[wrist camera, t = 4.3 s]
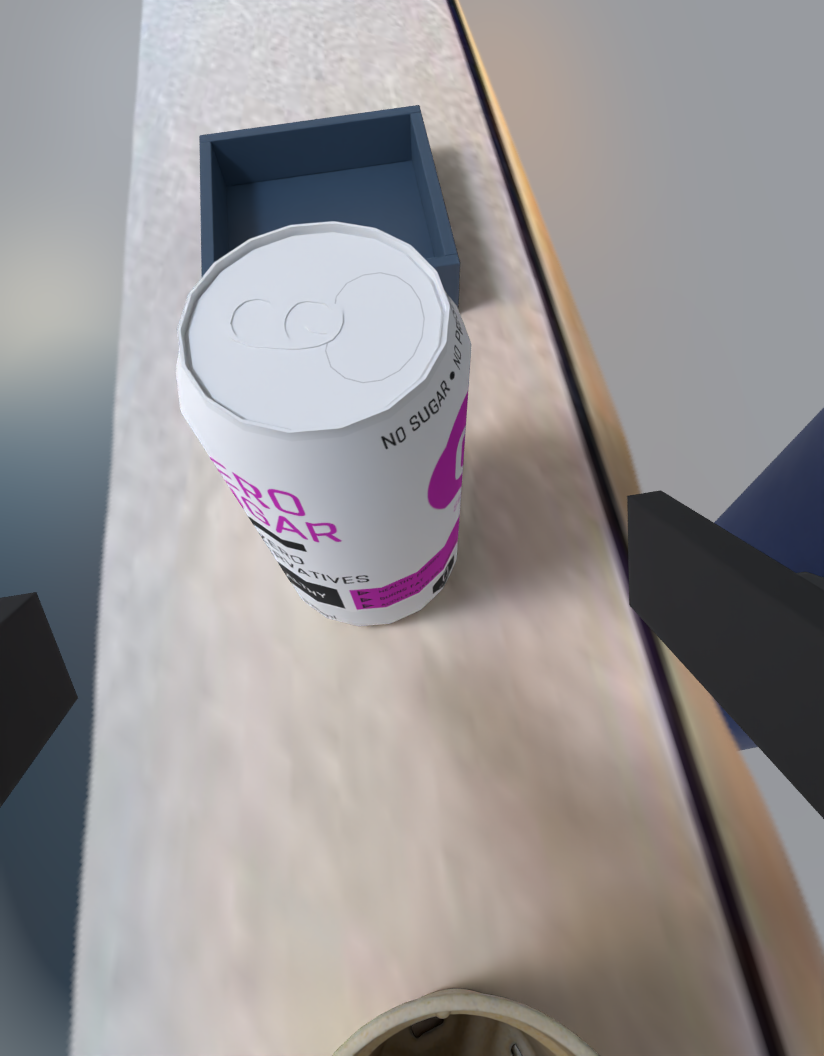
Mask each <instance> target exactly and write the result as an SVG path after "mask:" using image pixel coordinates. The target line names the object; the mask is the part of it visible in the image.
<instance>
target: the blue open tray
mask: <svg viewBox="0 0 824 1056" xmlns="http://www.w3.org/2000/svg"><path fill="white" fill-rule="evenodd" d="M200 199H201V262H202V277H203V275H204V274H205V273H206V272H207V271H208V269H209V268H210V267H211V266H212V264H213V263H214V262H216V261H217V260H219V259H220V258H222V257H223V256H225V255H226V254H228V253H229V252H231V251H232V250H234V249H235V248H237V247H238V246H240V245H241V244H243V243H244V242H246V241H247V240H249V239H251V238H254V237H257V236H260V235H263V234H266V233H268V232H271V231H274V230H277V229H280V228H283V227H286V226H289V225H295V224H307V223H318V222H329V221H336V222H342V223H348V224H354V225H360V226H367V227H373V228H376V229H379V230H381V231H383V232H385V233H387V234H389V235H391V236H393V237H395V238H397V239H399V240H401V241H403V242H406V243H408V244H410V245H411V246H412V247H413V248H414V249H415V250H416V251H417V252H418V253H419V254H420V255H421V256H422V257H423V258H424V259H425V260H426V261H427V262H428V263H429V264H430V265H431V266H432V267H433V268H434V269H435V270H436V271H437V272H438V275H439V278H440V280H441V283H442V286H443V288H444V290H445V292H446V293H447V294H448V295H449V297H450V298H451V299H452V301H453V302H454V303H455V304H456V306H457V308H458V307H459V306H458V304H459V279H460V261H459V257H458V253H457V249H456V245H455V242H454V238H453V234H452V230H451V226H450V222H449V218H448V214H447V211H446V207H445V203H444V199H443V195H442V191H441V187H440V183H439V180H438V176H437V172H436V168H435V164H434V160H433V156H432V153H431V149H430V145H429V141H428V137H427V133H426V129H425V125H424V122H423V118H422V114H421V110H420V106H419V105H416V106H408V107H401V108H394V109H387V110H380V111H372V112H365V113H358V114H351V115H344V116H336V117H329V118H322V119H315V120H308V121H300V122H293V123H286V124H279V125H272V126H264V127H257V128H250V129H243V130H236V131H228V132H221V133H214V134H207V135H200Z"/></svg>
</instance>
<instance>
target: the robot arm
mask: <svg viewBox="0 0 824 1056" xmlns="http://www.w3.org/2000/svg"><path fill="white" fill-rule="evenodd" d="M627 503H628V553H629V603H630V606H631V607H632V608H633V609H634V611H635V612H636V613H637V614H638V615H639V616H640V617H641V618H642V619H643V620H644V622H645V623H646V624H647V625H648V626H649V627H650V628H651V629H652V630H653V631H654V633H655V634H656V635H657V636H658V637H659V638H660V639H661V640H662V641H663V642H664V644H665V645H666V646H667V647H668V648H669V649H670V650H671V651H672V652H673V653H674V655H675V656H676V657H677V658H678V659H679V660H680V661H681V662H682V663H683V664H684V666H685V667H686V668H687V669H688V670H689V671H690V672H691V673H692V674H693V675H694V677H695V678H696V679H697V680H698V681H699V682H700V683H701V684H702V685H703V686H704V688H705V689H706V690H707V691H708V692H709V693H710V694H711V695H712V696H713V697H714V699H715V700H716V701H717V702H718V703H719V704H720V705H721V706H722V707H723V708H724V710H725V711H726V712H727V713H728V714H729V715H730V716H731V717H732V718H733V720H734V721H735V722H736V723H737V724H738V725H739V726H740V727H741V728H742V729H743V731H744V732H745V733H746V734H747V735H748V736H749V737H750V738H751V739H752V740H753V742H754V743H755V744H756V745H757V746H758V747H759V748H760V749H761V750H762V751H763V753H764V754H765V755H766V756H767V757H768V758H769V759H770V760H771V761H772V762H773V764H775V766H776V767H777V768H778V769H779V770H780V771H781V772H782V773H783V774H784V776H785V777H786V778H787V779H788V780H789V781H790V782H791V783H792V784H793V786H794V787H795V788H796V789H797V790H798V791H799V792H800V793H801V794H802V795H803V796H804V798H805V799H806V800H807V801H808V802H809V803H810V804H811V805H812V806H813V808H814V809H815V810H816V811H818V813H819V814H820V815H821V816H822V817H823V819H824V577H820V576H817V575H814V574H811V573H808V572H801V573H795V572H793V571H792V570H790V569H788V568H787V567H785V566H783V565H782V564H780V563H779V562H777V561H775V560H774V559H772V558H770V557H769V556H767V555H765V554H764V553H762V552H761V551H759V550H757V549H756V548H754V547H752V546H751V545H749V544H747V543H746V542H744V541H743V540H741V539H739V538H738V537H736V536H734V535H733V534H731V533H729V532H728V531H726V530H725V529H723V528H721V527H720V526H718V525H716V524H715V523H713V522H711V521H710V520H708V519H707V518H705V517H703V516H702V515H700V514H698V513H697V512H695V511H693V510H692V509H690V508H689V507H687V506H685V505H684V504H682V503H680V502H679V501H677V500H675V499H674V498H672V497H671V496H669V495H667V494H666V493H664V492H662V491H655V492H649V493H643V494H636V495H630V496H627ZM77 699H78V697H77V694H76V692H75V689H74V687H73V684H72V682H71V679H70V677H69V674H68V671H67V669H66V666H65V664H64V661H63V659H62V656H61V654H60V651H59V648H58V646H57V643H56V641H55V638H54V636H53V633H52V631H51V628H50V626H49V623H48V621H47V618H46V615H45V613H44V611H43V608H42V606H41V603H40V600H39V598H38V595H37V593H36V592H34V593H28V594H21V595H16V596H9V597H3V598H0V807H1V806H2V805H3V803H4V802H5V800H6V799H7V797H8V796H9V795H10V793H11V792H12V790H13V789H14V788H15V786H16V785H17V783H18V782H19V781H20V779H21V778H22V776H23V775H24V773H25V772H26V771H27V769H28V768H29V766H30V765H31V764H32V762H33V760H34V759H35V758H36V757H37V755H38V754H39V752H40V751H41V749H42V748H43V747H44V745H45V744H46V742H47V741H48V740H49V738H50V737H51V735H52V734H53V732H54V731H55V730H56V728H57V727H58V725H59V724H60V723H61V721H62V720H63V718H64V717H65V715H66V714H67V712H68V711H69V710H70V708H71V707H72V706H73V704H74V703H75V701H76V700H77Z"/></svg>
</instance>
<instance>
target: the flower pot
mask: <svg viewBox="0 0 824 1056" xmlns="http://www.w3.org/2000/svg"><path fill="white" fill-rule="evenodd" d="M435 1016H437V1017H438V1018H440V1019H444V1021H443V1023H442V1024H441V1025H439V1026H437V1027H435V1028H433V1029H432V1030H429V1031H427V1032H425V1033H423V1034H422V1035H421V1036H420V1037H419V1038H416V1037H415V1036H414V1034H413V1033H412V1030H411V1025H413V1024H415V1023H417V1022H420V1021H423V1020H425V1019H427V1018H431V1017H435ZM514 1044H516V1045H517V1047H518V1049H519V1051H520V1053H521V1055H522V1056H600V1055H599V1054H597V1053H596V1052H595V1051H594V1050H593V1049H592V1048H591V1047H590V1046H589V1045H588V1044H587V1043H586V1042H585V1041H583V1040H582V1039H581V1038H580V1037H579V1036H578V1035H576V1034H575V1033H573V1032H572V1031H570V1030H569V1029H568V1028H567V1027H565V1026H564V1025H562V1024H561V1023H559V1022H558V1021H556V1020H554V1019H553V1018H551V1017H549V1016H548V1015H546V1014H544V1013H542V1012H541V1011H539V1010H536V1009H534V1008H532V1007H529V1006H527V1005H524V1004H522V1003H520V1002H517V1001H514V1000H510V999H507V998H503V997H499V996H494V995H489V994H482V993H479V992H475V991H471V990H466V989H447V990H441V991H437V992H433V993H431V994H428V995H426V996H423V997H421V998H419V999H416V1000H413V1001H410V1002H406V1003H404V1004H402V1005H399V1006H397V1007H395V1008H393V1009H391V1010H389V1011H387V1012H385V1013H383V1014H381V1015H379V1016H378V1017H376V1018H375V1019H373V1020H372V1021H370V1022H369V1023H367V1024H366V1025H364V1026H363V1027H361V1028H360V1029H359V1030H358V1031H357V1032H356V1033H354V1034H353V1035H352V1036H351V1037H350V1038H349V1039H348V1040H347V1041H346V1042H345V1043H344V1044H343V1045H341V1046H340V1047H339V1048H338V1049H337V1050H336V1052H335V1053H334V1054H333V1055H332V1056H513V1054H512V1052H511V1047H512V1046H513V1045H514Z"/></svg>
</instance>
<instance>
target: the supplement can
mask: <svg viewBox="0 0 824 1056" xmlns="http://www.w3.org/2000/svg"><path fill="white" fill-rule="evenodd" d="M177 334H178V342H179V355H178V360H177V365H176V377H177V386H178V394H179V403H180V411H181V413H182V414H183V416H184V418H185V419H186V421H187V422H188V424H189V425H190V427H191V429H192V430H193V432H194V433H195V435H196V436H197V438H198V440H199V441H200V443H201V444H202V446H203V447H204V449H205V450H206V452H207V454H208V455H209V457H210V458H211V460H212V461H213V463H214V464H215V466H216V467H217V469H218V471H219V472H220V474H221V475H222V477H223V478H224V480H225V481H226V483H227V484H228V486H229V488H230V489H231V491H232V492H233V494H234V495H235V497H236V498H237V500H238V502H239V503H240V505H241V506H242V508H243V509H244V511H245V512H246V514H247V515H248V517H249V519H250V520H251V522H252V523H253V525H254V526H255V528H256V529H257V531H258V532H259V534H260V536H261V537H262V539H263V540H264V542H265V543H266V545H267V546H268V548H269V549H270V551H271V553H272V554H273V556H274V557H275V559H276V560H277V562H278V563H279V565H280V566H281V568H282V570H283V571H284V573H285V574H286V576H287V577H288V579H289V580H290V582H291V583H292V585H293V587H294V588H295V590H296V591H297V593H298V594H299V596H300V597H301V599H302V600H303V601H304V602H305V603H307V604H308V605H310V606H311V607H312V608H314V609H315V610H317V611H318V612H319V613H321V614H322V615H324V616H325V617H326V618H329V619H332V620H336V621H340V622H344V623H348V624H351V625H355V626H367V625H379V624H390V623H393V622H395V621H397V620H400V619H402V618H404V617H406V616H408V615H411V614H413V613H415V612H417V611H420V610H421V609H422V608H423V607H424V606H425V605H426V604H427V603H428V602H429V601H430V600H431V599H433V598H434V597H435V596H436V595H437V594H438V593H439V592H440V591H441V590H442V589H443V588H444V586H445V584H446V581H447V579H448V577H449V575H450V573H451V571H452V569H453V567H454V565H455V563H456V559H457V545H458V531H459V517H460V502H461V488H462V474H463V459H464V445H465V430H466V416H467V401H468V387H469V373H470V358H471V342H470V339H469V336H468V334H467V331H466V328H465V326H464V323H463V321H462V318H461V315H460V313H459V310H458V308H457V306H456V304H455V303H454V302H453V301H452V299H451V298H450V297H449V295H448V294H447V293H446V292H445V290H444V288H443V286H442V283H441V280H440V278H439V275H438V272H437V271H436V270H435V269H434V268H433V267H432V266H431V265H430V264H429V263H428V262H427V261H426V260H425V259H424V258H423V257H422V256H421V255H420V254H419V253H418V252H417V251H416V250H415V249H414V248H413V247H412V246H411V245H410V244H408V243H406V242H403V241H401V240H399V239H397V238H395V237H393V236H391V235H389V234H387V233H385V232H383V231H381V230H379V229H376V228H373V227H367V226H360V225H354V224H348V223H342V222H336V221H329V222H318V223H307V224H295V225H289V226H286V227H283V228H280V229H277V230H274V231H271V232H268V233H266V234H263V235H260V236H257V237H254V238H251V239H249V240H247V241H246V242H244V243H243V244H241V245H240V246H238V247H237V248H235V249H234V250H232V251H231V252H229V253H228V254H226V255H225V256H223V257H222V258H220V259H219V260H217V261H216V262H214V263H213V264H212V266H211V267H210V268H209V269H208V271H207V272H206V273H205V274H204V275H203V277H202V278H201V279H200V280H199V282H198V283H197V284H196V285H195V286H194V288H193V289H192V290H191V291H190V293H189V294H188V297H187V300H186V303H185V306H184V309H183V313H182V316H181V319H180V322H179V325H178V328H177Z"/></svg>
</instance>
